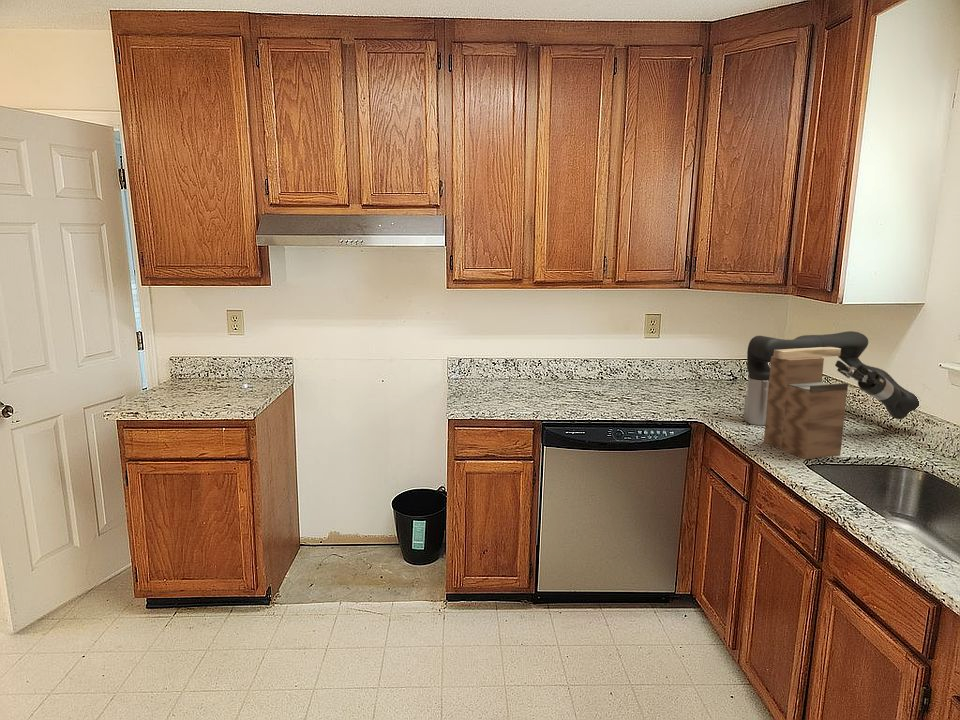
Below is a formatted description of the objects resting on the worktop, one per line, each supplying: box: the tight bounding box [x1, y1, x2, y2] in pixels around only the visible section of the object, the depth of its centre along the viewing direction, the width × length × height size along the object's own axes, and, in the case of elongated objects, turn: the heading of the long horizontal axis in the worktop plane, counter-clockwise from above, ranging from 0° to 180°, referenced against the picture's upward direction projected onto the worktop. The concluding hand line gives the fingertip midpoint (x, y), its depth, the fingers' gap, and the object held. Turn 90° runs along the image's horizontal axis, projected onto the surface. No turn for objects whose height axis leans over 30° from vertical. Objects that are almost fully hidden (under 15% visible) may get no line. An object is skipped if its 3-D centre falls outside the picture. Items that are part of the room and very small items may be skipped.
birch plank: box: [773, 347, 841, 359], centre depth 206 cm, size 4×24×2 cm, turn 108°
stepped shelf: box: [763, 356, 849, 460], centre depth 203 cm, size 18×14×30 cm
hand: (847, 364), depth 212 cm, fingers open, 8 cm apart
